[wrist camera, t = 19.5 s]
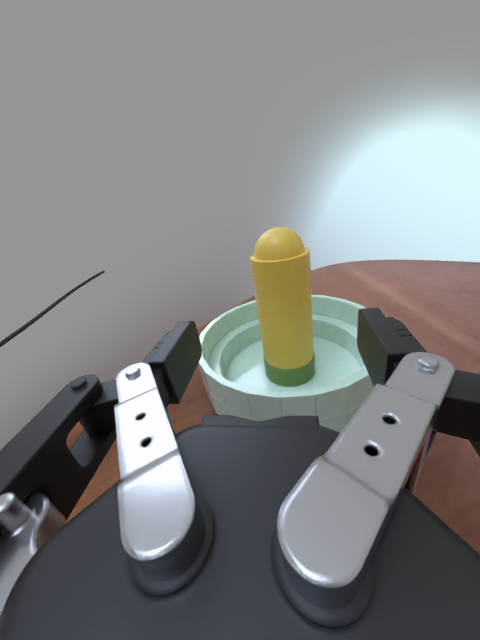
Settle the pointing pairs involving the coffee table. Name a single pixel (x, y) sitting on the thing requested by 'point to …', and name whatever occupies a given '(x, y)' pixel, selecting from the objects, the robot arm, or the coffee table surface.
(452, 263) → the coffee table surface
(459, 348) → the coffee table surface
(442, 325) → the coffee table surface
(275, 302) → the corn cob
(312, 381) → the basin
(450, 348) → the coffee table surface
